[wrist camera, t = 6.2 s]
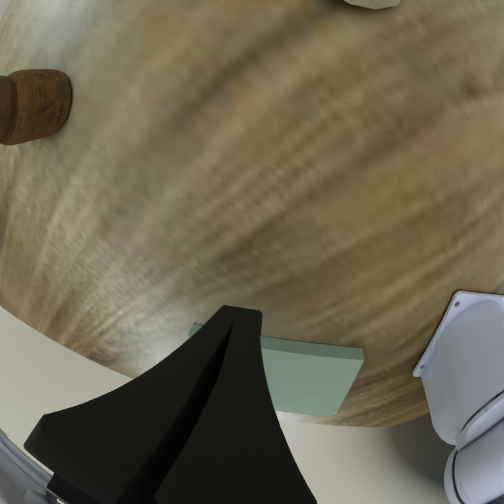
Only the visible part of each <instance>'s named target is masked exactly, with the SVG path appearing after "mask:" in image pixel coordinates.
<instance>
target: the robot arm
mask: <svg viewBox="0 0 504 504" xmlns="http://www.w3.org/2000/svg"><path fill="white" fill-rule="evenodd" d="M456 302H457V303H456ZM455 303H456V304H455ZM261 326H262V313H261V312H260V310H253V309H246V308H240V307H233V306H227V305H223V306H222V307H221V308H220V309H219V310H218V311H217V312H216V313H215V314H214V315H213V316H212V317H211V318H210V319H209V320H208V321H207V322H206V323H205V324H204V325H203V326H202V327H201V328H200V329H199V330H198V331H197V332H196V333H194V334H193V335H192V336H191V337H190V338H189V339H188V340H187V341H186V342H185V343H183V344H182V345H181V346H180V347H179V348H177V349H176V350H175V351H174V352H172V353H171V354H170V355H169V356H167V357H166V358H165V359H163V360H162V361H161V362H159V363H158V364H157V365H155V366H154V367H152V368H151V369H149V370H148V371H146V372H145V373H143V374H142V375H140V376H138V377H137V378H135V379H133V380H132V381H130V382H128V383H126V384H124V385H123V386H121V387H119V388H117V389H115V390H113V391H111V392H109V393H107V394H104V395H102V396H100V397H98V398H95V399H93V400H90V401H88V402H85V403H83V404H80V405H77V406H74V407H71V408H67V409H64V410H60V411H57V412H53V413H49V414H44V415H43V416H42V418H41V419H40V420H39V422H38V424H37V425H36V426H35V428H34V429H33V431H32V432H31V434H30V435H29V437H28V438H27V440H26V442H25V443H24V448H25V450H26V451H28V452H29V453H30V454H31V455H32V456H34V457H35V458H36V459H37V460H38V461H40V462H41V463H42V464H44V465H45V466H46V467H47V468H49V469H50V470H51V471H53V472H54V474H53V476H52V475H51V474H50V473H48V472H47V471H46V470H44V469H43V468H42V467H41V466H39V465H38V464H37V463H36V462H34V461H33V460H32V459H31V458H30V457H28V456H27V455H26V454H25V453H24V452H23V451H22V450H20V449H19V448H18V447H17V446H16V445H15V444H14V443H13V442H12V441H11V440H10V439H9V438H8V437H7V435H6V434H5V433H4V432H3V431H2V430H1V429H0V504H60V503H58V502H57V498H58V499H59V500H60V501H62V502H63V503H65V504H317V501H316V499H315V497H314V496H313V494H312V492H311V490H310V489H309V487H308V485H307V483H306V482H305V480H304V478H303V476H302V474H301V472H300V470H299V468H298V466H297V464H296V462H295V460H294V458H293V456H292V454H291V451H290V449H289V446H288V444H287V441H286V439H285V437H284V434H283V432H282V429H281V427H280V424H279V421H278V418H277V415H276V412H275V409H274V406H273V402H272V399H271V396H270V392H269V388H268V384H267V379H266V374H265V370H264V364H263V357H262V350H261V338H260V337H261ZM412 373H413V376H414V377H421V379H422V382H423V386H424V390H425V394H426V398H427V402H428V406H429V410H430V414H431V419H432V423H433V426H434V429H435V431H436V432H437V434H438V435H439V436H440V437H441V438H442V439H443V440H444V441H445V442H447V443H449V444H453V445H456V448H455V449H454V450H453V451H452V453H451V454H450V456H449V459H448V461H447V465H446V469H445V476H444V485H445V491H446V495H447V498H448V500H449V502H450V503H451V504H504V295H495V294H486V293H476V292H467V291H458V292H456V293H455V294H454V296H453V298H452V301H451V303H450V305H449V307H448V309H447V311H446V313H445V315H444V317H443V319H442V321H441V323H440V325H439V327H438V329H437V331H436V333H435V335H434V336H433V338H432V340H431V342H430V344H429V345H428V347H427V349H426V351H425V352H424V354H423V356H422V357H421V359H420V361H419V362H418V364H417V366H416V367H415V369H414V370H413V372H412Z"/></svg>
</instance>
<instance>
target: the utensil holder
mask: <svg viewBox="0 0 504 504" xmlns="http://www.w3.org/2000/svg"><path fill="white" fill-rule="evenodd" d="M70 103H71V86H70V83H69V80H68V78H67V76H66V75H65V74H64V73H62V72H61V71H58V70H51V69H29V70H19V71H15V72H13V73H11V74H9V75H8V76H0V143H1V144H3V145H16V144H20V143H24V142H28V141H32V140H36V139H40V138H43V137H47V136H49V135H51V134H53V133H55V132H56V131H57V130H58V129H59V128H60V127H61V126H62V124H63V123H64V121H65V119H66V117H67V114H68V112H69V108H70Z"/></svg>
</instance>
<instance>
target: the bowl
mask: <svg viewBox="0 0 504 504" xmlns="http://www.w3.org/2000/svg"><path fill="white" fill-rule="evenodd" d="M344 1H346V2H348V3H349V4H352V5H358V6H362V7H367V8H372V9H380V8H386V7H391V6H396V5H397V4H398V3H399V2H400V1H401V0H344Z"/></svg>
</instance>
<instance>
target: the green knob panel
mask: <svg viewBox="0 0 504 504" xmlns="http://www.w3.org/2000/svg"><path fill="white" fill-rule="evenodd" d="M202 326H203V325H198V324H194V325H193V327H192V329H191V331H190V332H189V334H188V335H189V338H190V337H191V336H192V335H193V334H194V333H196V332H197V331H198V330H199V329H200V328H201V327H202ZM260 338H261V350H262V357H263V364H264V370H265V374H266V379H267V384H268V388H269V392H270V396H271V399H272V402H273V406H274V409H275V410H276V411H284V412H292V413H301V414H311V415H324V416H335V414H336V413H337V411H338V409H339V408H340V406H341V404H342V402H343V400H344V399H345V397H346V395H347V393H348V391H349V389H350V388H351V386H352V384H353V382H354V380H355V378H356V376H357V374H358V372H359V370H360V368H361V366H362V364H363V362H364V354H363V348H357V347H346V346H335V345H325V344H316V343H307V342H299V341H292V340H284V339H277V338H271V337H264V336H261V337H260Z"/></svg>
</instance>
